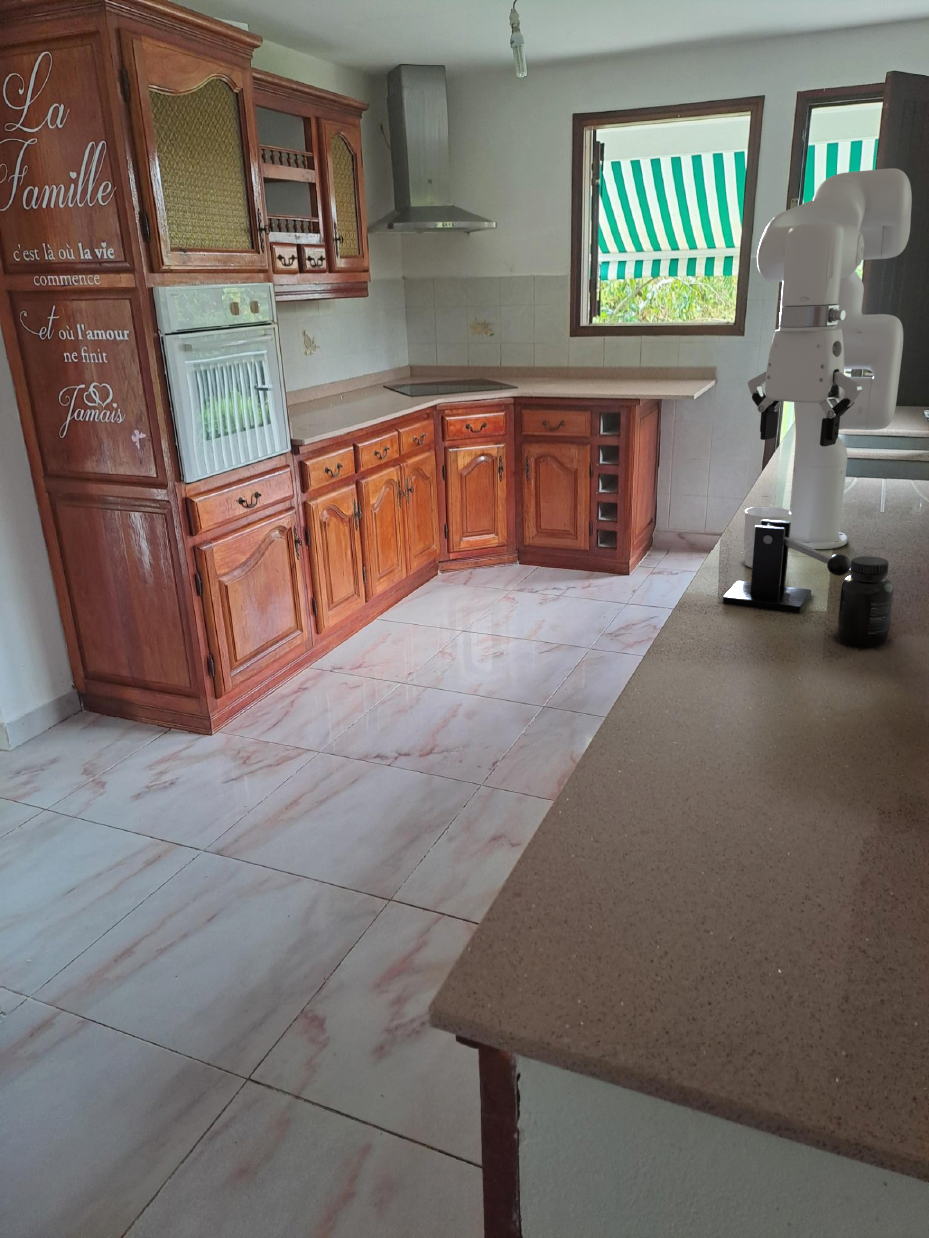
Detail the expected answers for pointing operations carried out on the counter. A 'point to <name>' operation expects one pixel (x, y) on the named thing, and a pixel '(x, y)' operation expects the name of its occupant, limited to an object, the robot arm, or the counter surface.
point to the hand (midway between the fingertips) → (797, 441)
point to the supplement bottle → (865, 603)
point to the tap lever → (822, 557)
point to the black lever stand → (769, 574)
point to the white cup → (754, 518)
